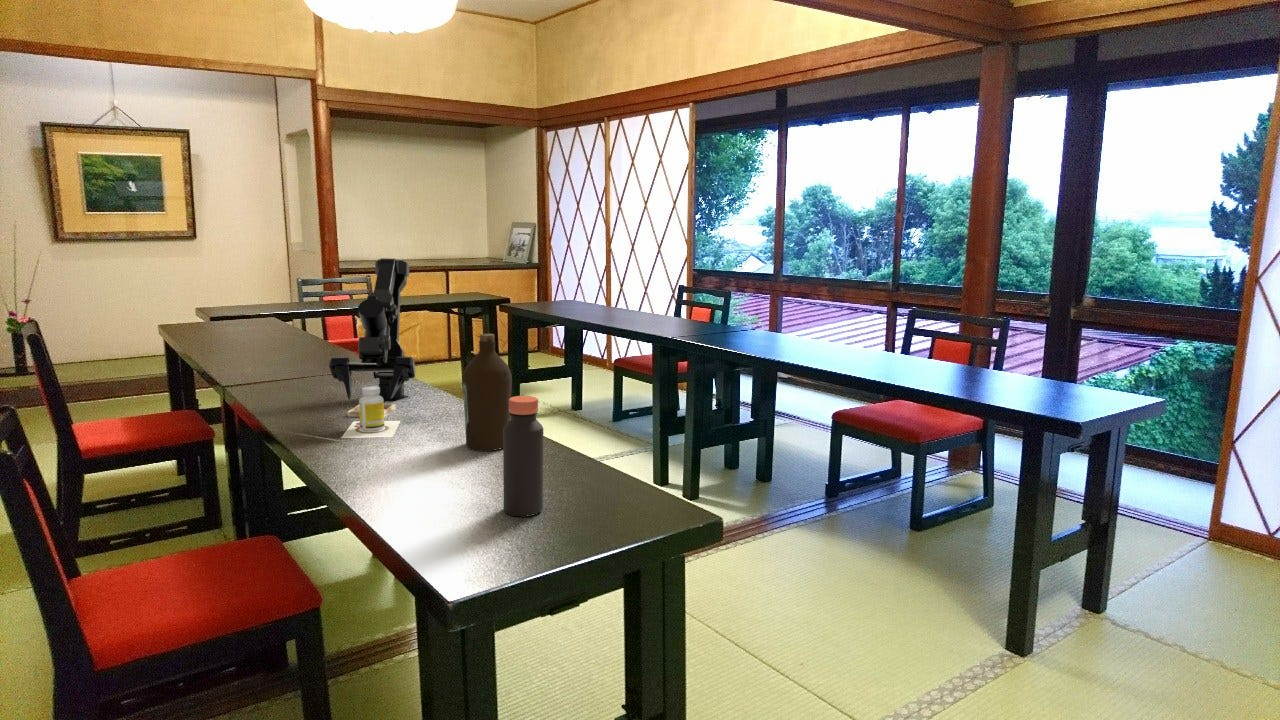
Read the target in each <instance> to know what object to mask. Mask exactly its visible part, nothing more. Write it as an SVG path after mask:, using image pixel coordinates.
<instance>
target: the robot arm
mask: <svg viewBox="0 0 1280 720" xmlns="http://www.w3.org/2000/svg"><path fill="white" fill-rule="evenodd" d="M374 265H375V266H374V271H375V273H374V275H375V276H376V280H375V285H374V290H373V292H372V293H371V294H368V295H367V297H366V299H365V300H363V301H361V302H360V304H359V305H358V306H357V310H358V314H359V318H360V321H361V326H362V329H363V330H364V335H363V337H362V336H361V337H359V338H358V352H359V354H358V358H359V360H361V361H360V362H357V361H355V362H352V361H350V358H349V356H333V357H331V359H329V365H328V366H329V370H330V373H331V376H332V378H333V379H336V380H338V382H340V383H341V382H342V383H343V384H344V388H345V391H346V396H347V399H348V400H351V399H352V388H353V385H352V384H353V382H352V381H353V379H352V373H353V372H370V373H371V372H372V373H373V379H374V380H375V379H378V382H379V384H378V387H380V394H379V396H382V397H383V401H387V402H397V401H400V400H403V399H407V398H409V395H405V390H404V389H405V388H404V387H405V386H404V385H405V384H404V383H405V382H408V381H410V379H414V378H416V363H415V359H414V357H412V356H405V351H404V350H403V348H402V346H401V345H400V319H401V317H400V315H401V292H402V291H404V289H405V287H406V285H407V281H408V278H409V276H410V266H409V265H410V264H409V263H408V262H407V261H405V260H404V259H396V258H388V257H387V258H385V257H383V258H379V259H377V260H376V261H375V262H374Z"/></svg>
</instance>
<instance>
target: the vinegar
mask: <svg viewBox="0 0 1280 720" xmlns="http://www.w3.org/2000/svg"><path fill="white" fill-rule="evenodd" d="M509 412H510V413H509V415H510V421H509V422H508V423H507V424H506V425H505V426H504V428H503V449H502V450H503V454H502V455H503V456H502V459H503V463H502V464H503V467H502V468H503V471H502V472H503V483H502V484H503V511H504V513H505V514H507V515H508V514H509V515H508V516H510V515H513V516H512V517H514V516H527V515H532V514H536V513H538V512H540V511H541V510H543V507H544V427H543V425H542V424H541V422H539V420H537V416H538V412H539V399H538V398H537V397H536V396H531V395H516V396H511V398H510V399H509ZM541 512H542V511H541ZM541 512H540V513H541Z"/></svg>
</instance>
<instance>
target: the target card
mask: <svg viewBox="0 0 1280 720" xmlns="http://www.w3.org/2000/svg"><path fill="white" fill-rule="evenodd" d="M400 423H401V420H384V428H383V429H381V430H377V431H364V430H361V429H360V420H358V421H356V420H355V421H354V420H353V421H352V423H351V424H350V425H349V426H348V428H347V430H346V431H345V432H344V433H343V435H342V436H341V437H340V439H365V438H370V439H372V438H373V439H374V438H393V437H394V435H395V433H396V431H397V428H398V426H399V425H400Z"/></svg>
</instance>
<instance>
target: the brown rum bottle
mask: <svg viewBox="0 0 1280 720" xmlns="http://www.w3.org/2000/svg"><path fill="white" fill-rule="evenodd" d="M478 344H479V345H478V347H479V351H478V352H477V354H476V355H475V356H474V357H473V358H472V359H471V360H470V361H469V363H467V365H466V366H465V368H464V371H463V375H462V394H463V409H464V410H463V411H464V425H465V429H464V430H465V446H466V447H467V448H468V449H469V448H470V450H472V449H473V451H476V450H480V451H479V452H489V451H488V450H494V449H499V448H503V428H504V426H505V425H506V424H507V423H508V422H509V421H510V420H511V415H509V413H510V412H509V399H510V398H511V397H512V389H513V388H512V384H513V383H512V382H513V377H512V372H511V369H510V366H509V365H508V364H507V363H506V362H505V361H504V359H502V357H501V356H499V355H498V354H497V352H496V341H495V334H494V333H480V334H479V341H478ZM481 450H482V451H481ZM486 450H487V451H486Z"/></svg>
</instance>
